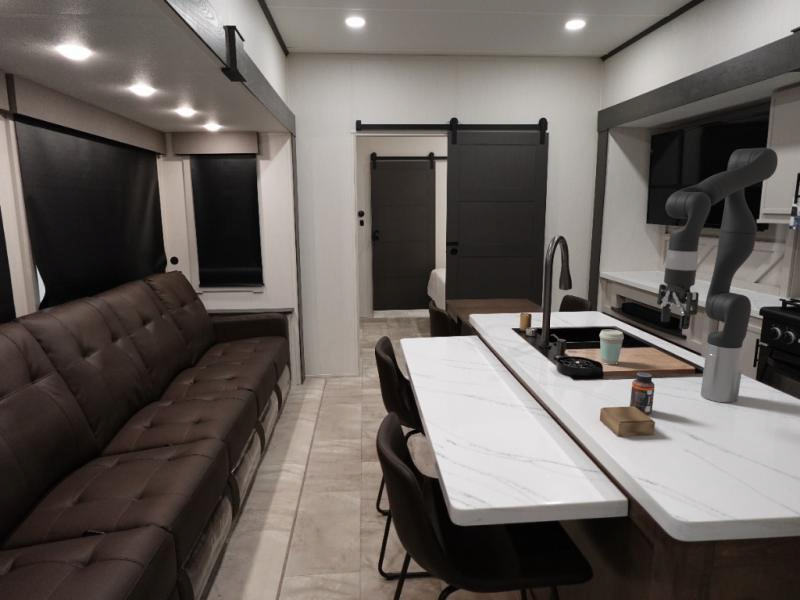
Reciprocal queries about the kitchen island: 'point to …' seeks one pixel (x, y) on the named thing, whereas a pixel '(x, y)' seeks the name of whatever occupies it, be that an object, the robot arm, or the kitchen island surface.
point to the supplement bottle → (642, 393)
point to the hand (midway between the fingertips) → (674, 325)
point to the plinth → (627, 421)
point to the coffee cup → (610, 345)
